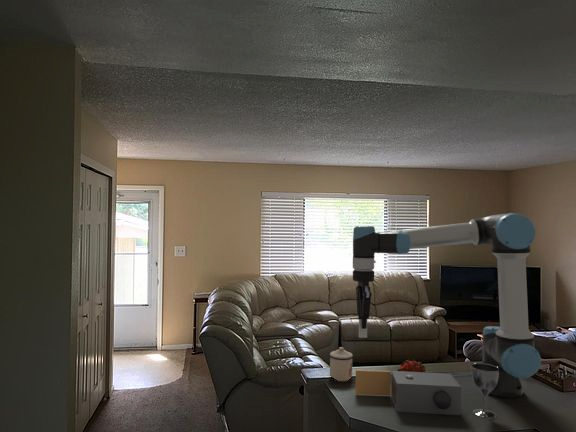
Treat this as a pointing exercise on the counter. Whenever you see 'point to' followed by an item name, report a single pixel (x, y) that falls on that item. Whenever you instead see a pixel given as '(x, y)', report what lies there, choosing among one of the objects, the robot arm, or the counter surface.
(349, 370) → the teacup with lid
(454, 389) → the camera case
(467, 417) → the counter surface
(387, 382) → the door
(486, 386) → the wine glass
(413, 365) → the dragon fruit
